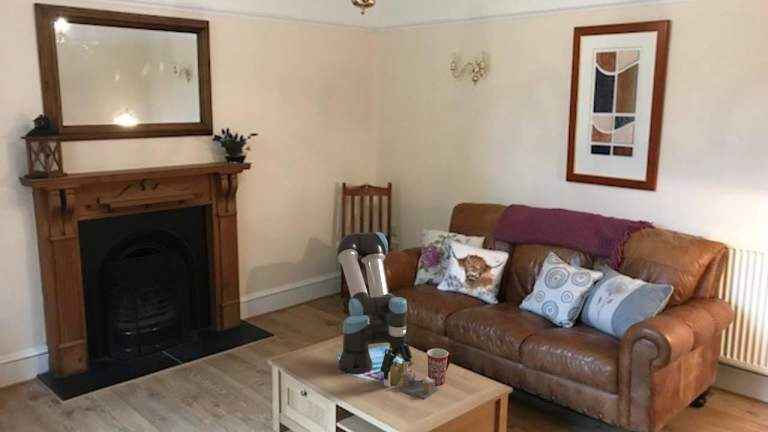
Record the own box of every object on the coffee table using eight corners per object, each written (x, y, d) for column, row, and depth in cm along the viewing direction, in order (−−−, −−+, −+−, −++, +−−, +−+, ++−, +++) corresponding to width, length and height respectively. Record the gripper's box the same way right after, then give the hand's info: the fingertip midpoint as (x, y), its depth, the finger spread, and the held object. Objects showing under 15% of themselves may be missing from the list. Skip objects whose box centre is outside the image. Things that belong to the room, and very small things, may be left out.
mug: (436, 388, 271) (437, 359, 268) (421, 380, 278) (422, 351, 275) (457, 380, 279) (458, 351, 276) (442, 372, 286) (443, 344, 283)
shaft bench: (399, 389, 269) (399, 374, 268) (412, 381, 277) (413, 366, 276) (424, 399, 262) (425, 383, 260) (438, 390, 269) (438, 375, 268)
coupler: (388, 381, 276) (388, 364, 274) (394, 378, 280) (394, 360, 278) (397, 385, 273) (397, 367, 271) (403, 381, 277) (404, 363, 275)
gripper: (386, 344, 260) (385, 393, 264) (420, 327, 279) (419, 373, 283) (372, 340, 265) (371, 387, 269) (406, 323, 284) (405, 368, 288)
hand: (396, 380), depth 276 cm, fingers open, 12 cm apart
